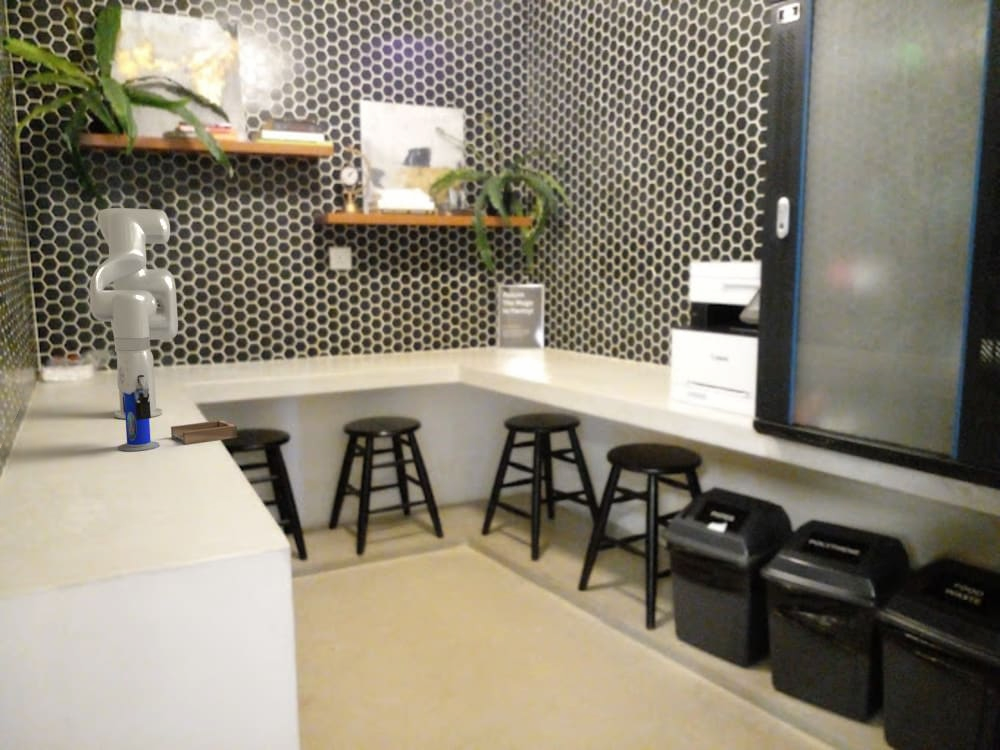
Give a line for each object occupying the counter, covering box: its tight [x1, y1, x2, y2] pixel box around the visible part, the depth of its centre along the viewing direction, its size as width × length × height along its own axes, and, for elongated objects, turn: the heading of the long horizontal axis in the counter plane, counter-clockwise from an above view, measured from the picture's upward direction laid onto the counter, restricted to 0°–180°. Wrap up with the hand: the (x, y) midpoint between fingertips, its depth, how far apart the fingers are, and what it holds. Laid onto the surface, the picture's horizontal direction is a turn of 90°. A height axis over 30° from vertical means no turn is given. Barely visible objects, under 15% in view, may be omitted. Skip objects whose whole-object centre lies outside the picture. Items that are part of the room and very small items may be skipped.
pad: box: [117, 440, 160, 453], centre depth 181 cm, size 9×9×1 cm
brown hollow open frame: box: [170, 419, 238, 446], centre depth 191 cm, size 10×13×3 cm
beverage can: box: [124, 392, 152, 447], centre depth 180 cm, size 5×5×15 cm
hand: (137, 415), depth 181 cm, fingers open, 9 cm apart
